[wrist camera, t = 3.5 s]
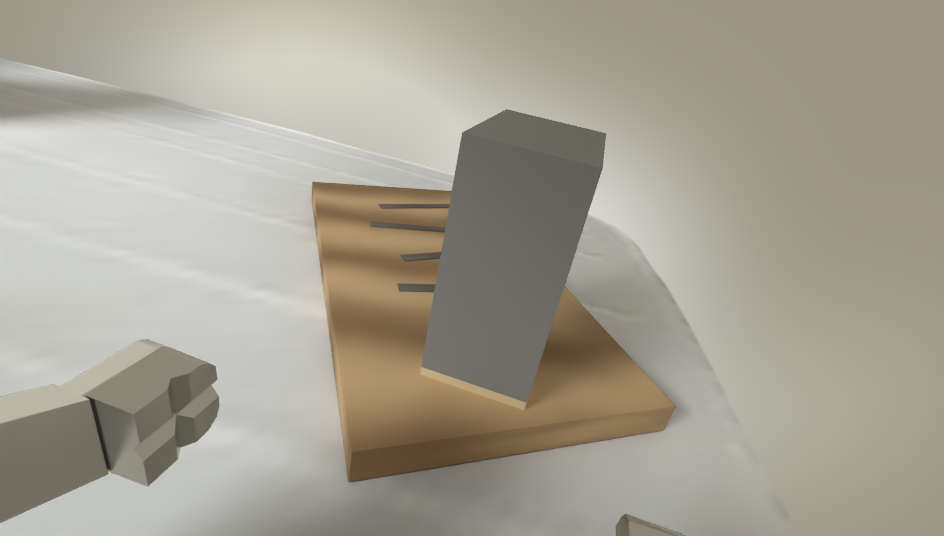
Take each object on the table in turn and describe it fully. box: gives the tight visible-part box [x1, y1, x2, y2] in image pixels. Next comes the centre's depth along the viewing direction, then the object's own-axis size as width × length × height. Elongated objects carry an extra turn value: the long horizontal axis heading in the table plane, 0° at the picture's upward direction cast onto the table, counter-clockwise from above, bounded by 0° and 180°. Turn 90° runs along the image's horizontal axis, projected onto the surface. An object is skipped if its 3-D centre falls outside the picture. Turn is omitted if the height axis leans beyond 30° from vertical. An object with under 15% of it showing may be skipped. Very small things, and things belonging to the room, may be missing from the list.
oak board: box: [312, 182, 675, 482], centre depth 29 cm, size 26×14×2 cm, turn 19°
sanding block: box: [420, 110, 606, 410], centre depth 20 cm, size 7×4×10 cm, turn 164°
